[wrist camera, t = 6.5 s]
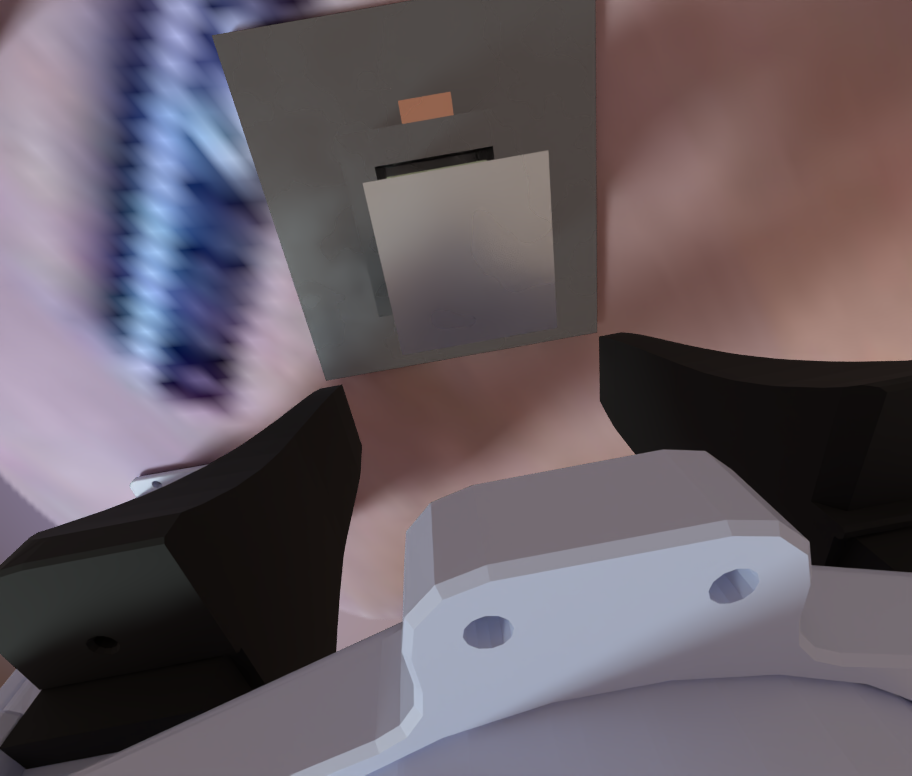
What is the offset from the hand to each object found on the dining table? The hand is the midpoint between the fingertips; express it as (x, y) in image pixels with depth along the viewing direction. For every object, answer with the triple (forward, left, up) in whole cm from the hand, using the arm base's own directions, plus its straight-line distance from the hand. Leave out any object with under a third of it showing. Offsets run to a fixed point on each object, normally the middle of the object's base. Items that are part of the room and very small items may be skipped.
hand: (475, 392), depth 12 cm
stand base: (0, +4, -10) cm, 11 cm away
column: (0, +4, -7) cm, 8 cm away
